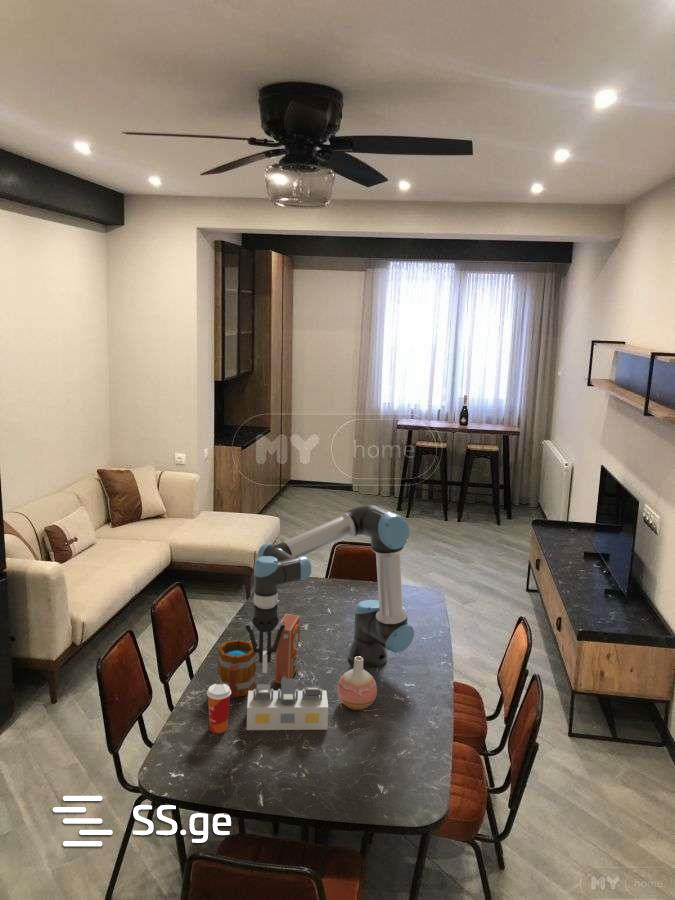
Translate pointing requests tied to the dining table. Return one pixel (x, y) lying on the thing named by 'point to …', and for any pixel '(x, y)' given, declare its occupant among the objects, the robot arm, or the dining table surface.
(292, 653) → the control panel
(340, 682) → the vase
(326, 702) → the console
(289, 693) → the rocker
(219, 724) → the paper cup
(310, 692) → the rocker
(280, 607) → the dining table surface
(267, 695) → the rocker
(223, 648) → the mug
